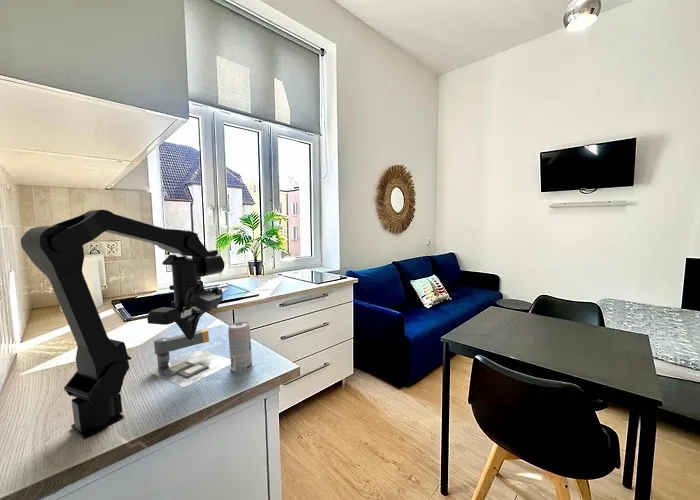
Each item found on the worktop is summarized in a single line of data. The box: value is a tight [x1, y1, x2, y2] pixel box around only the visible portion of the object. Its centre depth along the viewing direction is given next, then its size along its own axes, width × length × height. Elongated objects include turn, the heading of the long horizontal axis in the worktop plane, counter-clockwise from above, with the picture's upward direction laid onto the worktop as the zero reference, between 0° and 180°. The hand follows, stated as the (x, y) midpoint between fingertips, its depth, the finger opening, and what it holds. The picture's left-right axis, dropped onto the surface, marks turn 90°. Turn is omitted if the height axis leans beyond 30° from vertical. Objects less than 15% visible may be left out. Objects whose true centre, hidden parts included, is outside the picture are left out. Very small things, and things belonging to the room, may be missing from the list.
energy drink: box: [227, 321, 253, 373], centre depth 81 cm, size 5×5×12 cm
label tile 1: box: [178, 363, 209, 378], centre depth 80 cm, size 6×4×1 cm, turn 149°
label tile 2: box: [164, 361, 195, 376], centre depth 81 cm, size 6×4×1 cm, turn 149°
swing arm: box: [153, 328, 210, 356], centre depth 85 cm, size 13×4×3 cm, turn 130°
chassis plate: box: [148, 349, 231, 389], centre depth 82 cm, size 15×16×4 cm
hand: (190, 339), depth 79 cm, fingers closed
